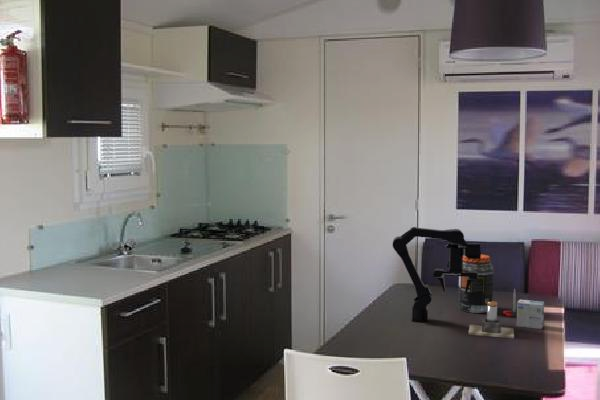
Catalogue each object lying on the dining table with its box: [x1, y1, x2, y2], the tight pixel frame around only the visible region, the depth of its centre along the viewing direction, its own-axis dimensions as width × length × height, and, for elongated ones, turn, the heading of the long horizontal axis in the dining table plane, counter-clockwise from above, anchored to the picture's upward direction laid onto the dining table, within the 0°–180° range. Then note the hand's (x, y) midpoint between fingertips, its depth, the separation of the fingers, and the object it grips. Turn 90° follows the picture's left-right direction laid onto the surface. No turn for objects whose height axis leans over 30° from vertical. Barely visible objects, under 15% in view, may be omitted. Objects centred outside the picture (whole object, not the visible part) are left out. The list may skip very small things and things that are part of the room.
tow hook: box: [502, 288, 517, 318], centre depth 321 cm, size 8×13×9 cm
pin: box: [486, 300, 498, 323], centre depth 291 cm, size 4×4×12 cm
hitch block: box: [468, 317, 515, 339], centre depth 291 cm, size 18×12×5 cm, turn 74°
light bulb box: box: [516, 299, 545, 330], centre depth 302 cm, size 11×7×11 cm, turn 65°
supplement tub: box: [457, 253, 494, 314], centre depth 329 cm, size 16×16×26 cm
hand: (455, 293), depth 306 cm, fingers open, 9 cm apart
